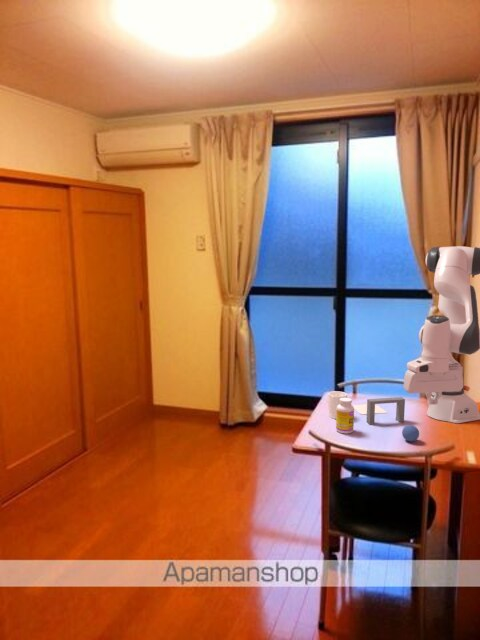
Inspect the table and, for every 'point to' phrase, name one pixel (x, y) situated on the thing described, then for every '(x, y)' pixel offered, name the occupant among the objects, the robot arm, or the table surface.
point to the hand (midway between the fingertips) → (432, 404)
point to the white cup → (334, 402)
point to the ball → (410, 433)
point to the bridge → (371, 403)
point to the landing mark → (363, 409)
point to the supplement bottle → (345, 416)
